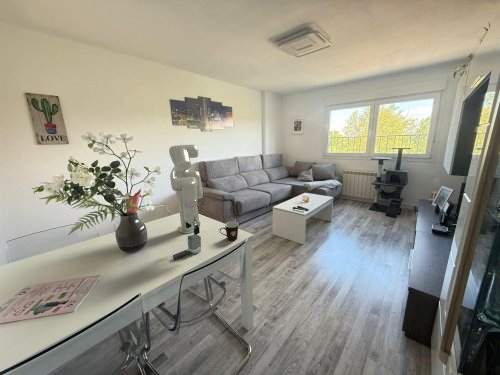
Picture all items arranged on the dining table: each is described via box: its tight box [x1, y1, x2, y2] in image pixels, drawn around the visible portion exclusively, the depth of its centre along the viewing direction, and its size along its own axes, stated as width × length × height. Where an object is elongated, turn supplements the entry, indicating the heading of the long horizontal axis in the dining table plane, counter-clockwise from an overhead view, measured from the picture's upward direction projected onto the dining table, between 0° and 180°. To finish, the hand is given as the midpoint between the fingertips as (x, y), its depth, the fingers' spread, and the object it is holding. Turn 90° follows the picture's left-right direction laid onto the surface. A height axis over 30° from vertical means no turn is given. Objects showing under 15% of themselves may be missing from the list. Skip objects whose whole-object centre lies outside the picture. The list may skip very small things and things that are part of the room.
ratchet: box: [172, 245, 202, 262], centre depth 116 cm, size 7×16×7 cm, turn 132°
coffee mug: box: [219, 221, 239, 242], centre depth 132 cm, size 12×9×10 cm
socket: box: [187, 234, 202, 250], centre depth 118 cm, size 5×5×6 cm
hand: (192, 230), depth 117 cm, fingers open, 9 cm apart
